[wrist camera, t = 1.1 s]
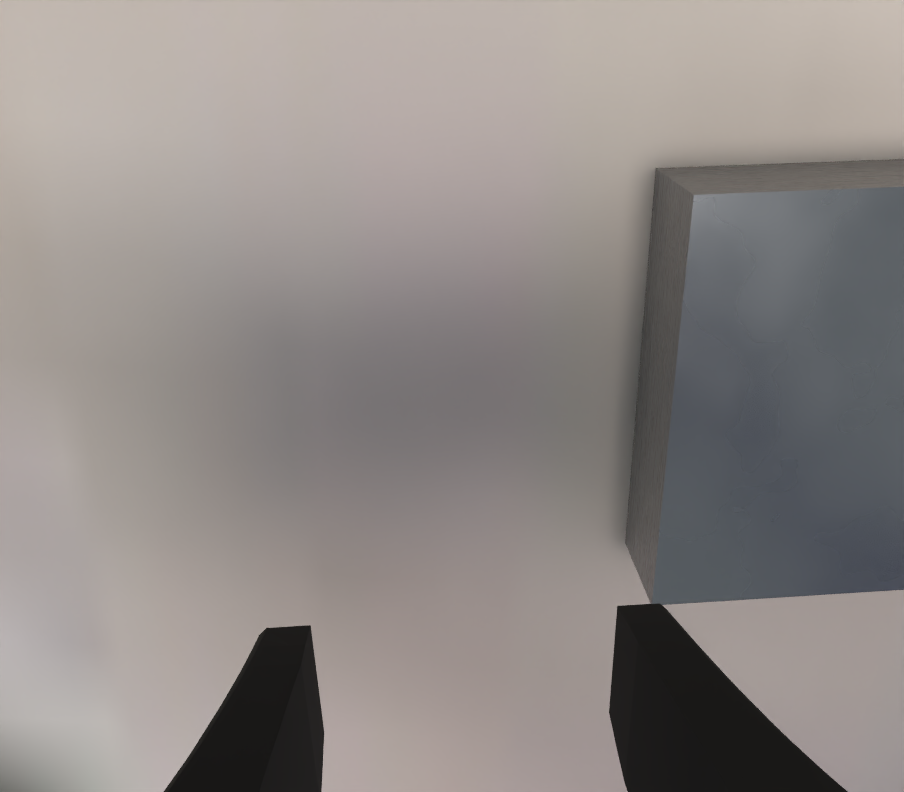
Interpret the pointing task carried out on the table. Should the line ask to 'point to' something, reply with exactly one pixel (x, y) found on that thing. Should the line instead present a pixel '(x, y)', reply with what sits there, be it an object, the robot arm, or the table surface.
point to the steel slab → (771, 384)
